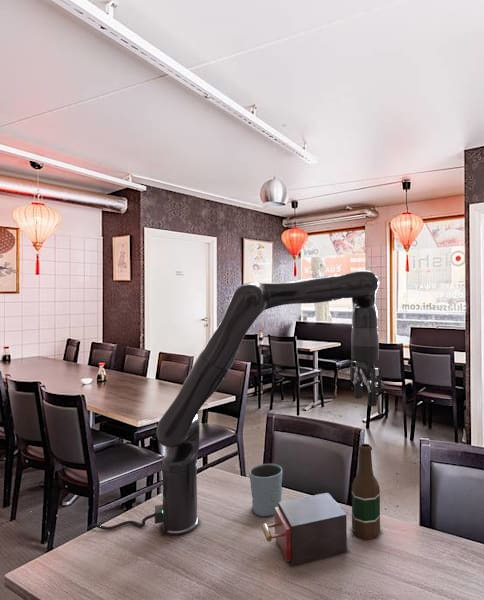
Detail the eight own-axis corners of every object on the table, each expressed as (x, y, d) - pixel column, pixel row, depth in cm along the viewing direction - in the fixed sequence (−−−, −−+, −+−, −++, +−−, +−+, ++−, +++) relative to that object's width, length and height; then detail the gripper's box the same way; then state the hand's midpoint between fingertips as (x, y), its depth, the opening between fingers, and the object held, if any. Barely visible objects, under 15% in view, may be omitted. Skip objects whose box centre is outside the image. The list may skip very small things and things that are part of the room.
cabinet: (292, 565, 100) (291, 526, 100) (278, 537, 112) (278, 502, 112) (346, 551, 105) (346, 514, 105) (328, 525, 117) (328, 492, 117)
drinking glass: (280, 517, 122) (280, 477, 121) (246, 517, 122) (246, 477, 122) (284, 500, 132) (284, 463, 132) (252, 500, 132) (252, 463, 132)
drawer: (269, 565, 99) (269, 533, 99) (259, 539, 110) (259, 510, 109) (337, 548, 105) (337, 518, 105) (321, 525, 116) (321, 498, 116)
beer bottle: (379, 541, 110) (378, 451, 109) (350, 537, 111) (349, 449, 111) (380, 524, 117) (380, 441, 117) (353, 522, 119) (353, 439, 119)
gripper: (342, 341, 119) (342, 397, 119) (364, 347, 106) (364, 410, 106) (365, 340, 121) (365, 394, 122) (390, 345, 108) (390, 407, 108)
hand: (365, 402), depth 114 cm, fingers open, 8 cm apart
